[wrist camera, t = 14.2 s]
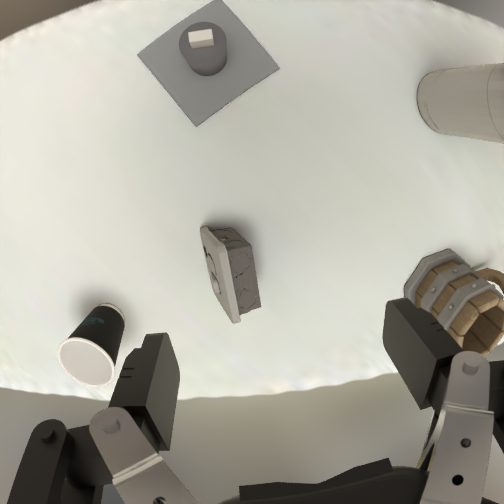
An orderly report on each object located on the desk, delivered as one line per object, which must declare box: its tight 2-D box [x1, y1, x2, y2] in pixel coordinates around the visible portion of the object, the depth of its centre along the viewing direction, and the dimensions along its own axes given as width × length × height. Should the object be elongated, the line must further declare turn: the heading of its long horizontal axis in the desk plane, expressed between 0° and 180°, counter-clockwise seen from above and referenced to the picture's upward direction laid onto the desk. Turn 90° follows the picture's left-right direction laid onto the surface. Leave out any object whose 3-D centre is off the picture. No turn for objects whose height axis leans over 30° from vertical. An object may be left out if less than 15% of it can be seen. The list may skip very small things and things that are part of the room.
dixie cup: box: [58, 304, 124, 387], centre depth 39 cm, size 8×8×11 cm
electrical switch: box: [200, 226, 261, 324], centre depth 38 cm, size 9×5×9 cm, turn 8°
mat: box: [137, 0, 279, 127], centre depth 32 cm, size 12×12×1 cm
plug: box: [179, 22, 227, 76], centre depth 27 cm, size 4×4×10 cm
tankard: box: [404, 249, 504, 357], centre depth 40 cm, size 20×13×15 cm, turn 106°
